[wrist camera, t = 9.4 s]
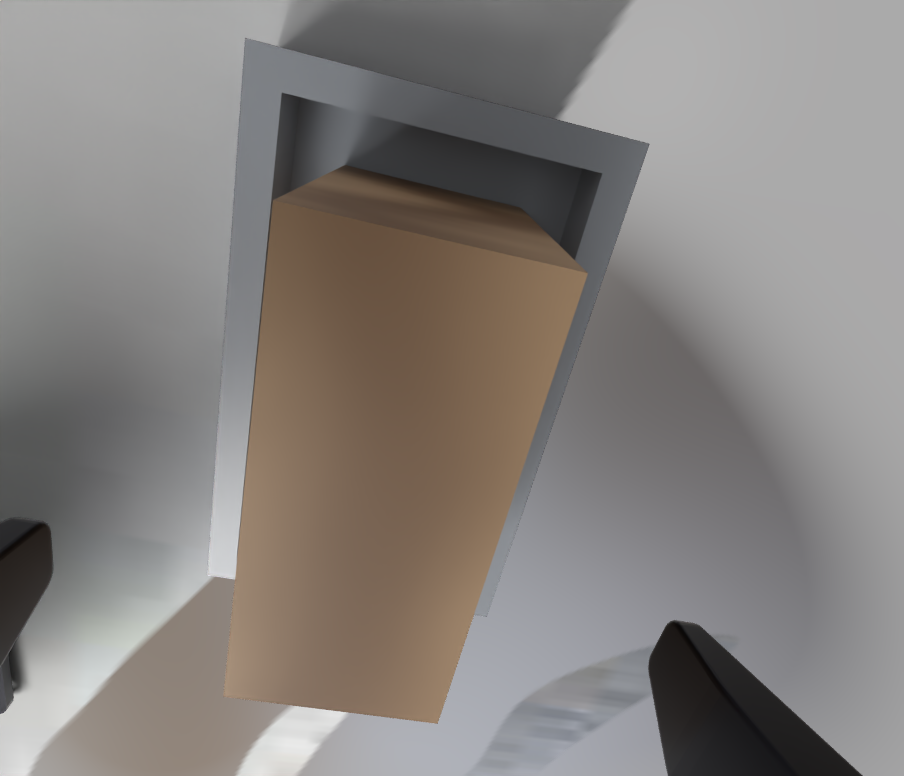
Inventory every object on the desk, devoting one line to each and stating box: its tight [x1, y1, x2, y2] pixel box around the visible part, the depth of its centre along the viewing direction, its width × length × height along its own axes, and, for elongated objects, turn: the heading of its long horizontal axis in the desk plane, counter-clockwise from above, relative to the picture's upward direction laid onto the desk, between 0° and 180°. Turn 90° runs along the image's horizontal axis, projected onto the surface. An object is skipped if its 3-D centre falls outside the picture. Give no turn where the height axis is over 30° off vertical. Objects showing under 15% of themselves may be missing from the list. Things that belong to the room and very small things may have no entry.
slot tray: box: [207, 38, 649, 617], centre depth 16 cm, size 14×9×2 cm, turn 167°
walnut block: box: [223, 165, 588, 723], centre depth 13 cm, size 4×10×7 cm, turn 167°
